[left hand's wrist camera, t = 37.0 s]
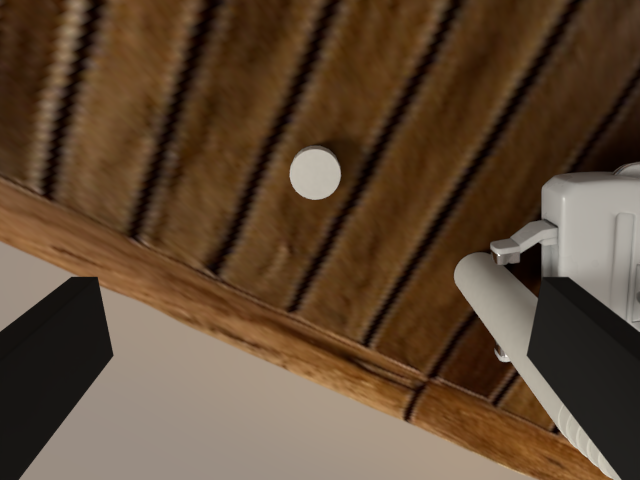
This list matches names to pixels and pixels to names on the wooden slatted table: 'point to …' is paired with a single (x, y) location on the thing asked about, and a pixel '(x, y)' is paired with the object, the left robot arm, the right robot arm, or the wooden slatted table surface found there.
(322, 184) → the cap
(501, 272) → the bottle
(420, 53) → the wooden slatted table surface
